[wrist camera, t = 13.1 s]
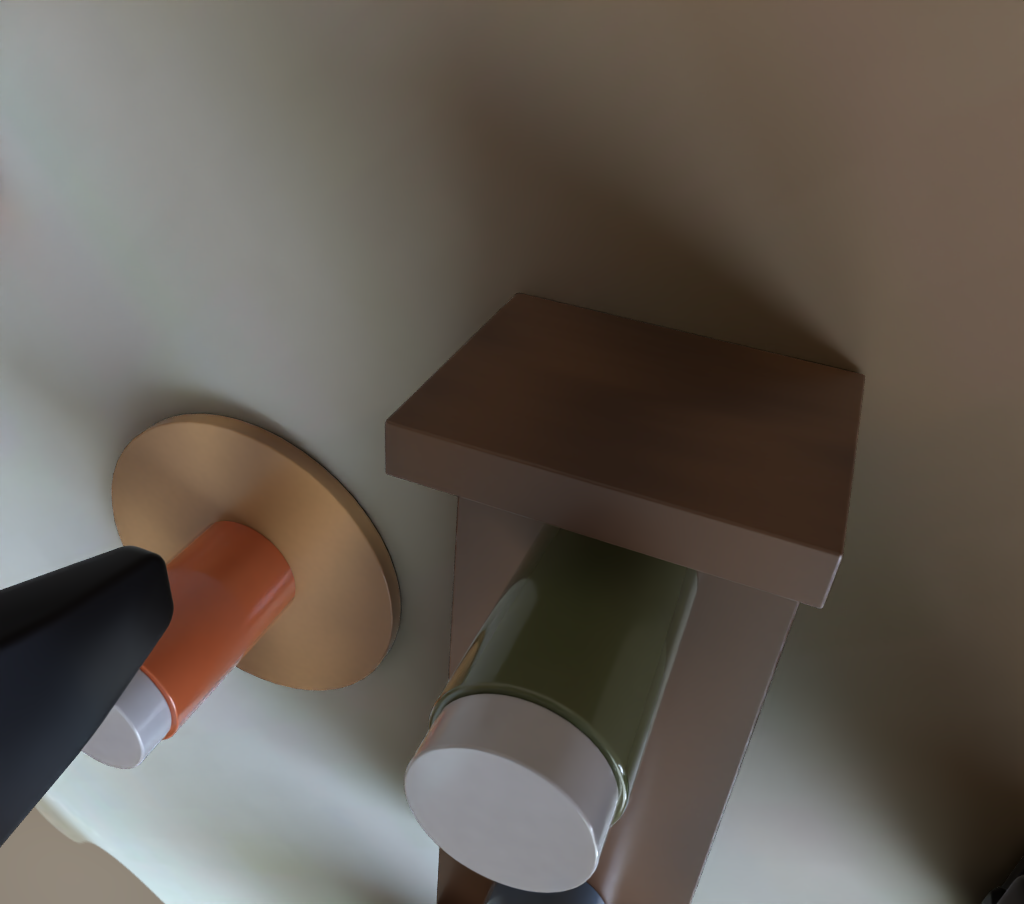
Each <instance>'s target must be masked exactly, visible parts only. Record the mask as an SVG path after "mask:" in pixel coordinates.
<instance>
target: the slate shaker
mask: <svg viewBox="0 0 1024 904" xmlns="http://www.w3.org/2000/svg"><path fill="white" fill-rule="evenodd" d="M483 904H605V902H604V901H603V899H602V897H601V896H600V895H599V894H598V892H597V891H596V890H595V889H594V888H593V887H592V886H591V885H590V884H589V883H588V882H585V883H583V884H582V885H580V886H578V887H576V888H574V889H571V890H568V891H563V892H555V893H539V892H531V891H525V890H521V889H516V888H513V887H509V886H506V885H503V884H500V883H498V882H495V881H493V882H492V884H491V887H490V889H489V891H488V893H487V896H486V898H485V900H484V903H483Z"/></svg>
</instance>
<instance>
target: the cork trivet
mask: <svg viewBox="0 0 1024 904" xmlns="http://www.w3.org/2000/svg"><path fill="white" fill-rule="evenodd" d="M111 489H112V507H113V513H114V519H115V523H116V526H117V530H118V533H119V536H120V539H121V541H122V544H123V546H137V547H140V548H143V549H145V550H148V551H151V552H153V553H156V554H158V555H160V556H161V557H162V558H163V559H164V561H165V562H166V561H168V560H169V559H170V558H171V557H172V556H173V555H174V554H176V553H177V552H178V551H179V550H180V549H181V548H182V547H184V546H185V545H186V544H187V543H188V542H189V541H190V540H192V539H193V538H194V537H195V536H196V535H197V534H198V533H200V532H201V531H202V530H203V529H204V528H205V527H206V526H208V525H209V524H211V523H214V522H217V521H232V522H237V523H240V524H243V525H246V526H248V527H250V528H252V529H254V530H256V531H257V532H259V533H260V534H262V535H263V536H264V537H266V538H267V539H268V540H269V541H270V542H271V543H273V544H274V546H275V547H276V548H277V549H278V550H279V551H280V552H281V554H282V555H283V556H284V558H285V559H286V561H287V562H288V564H289V566H290V568H291V570H292V573H293V576H294V579H295V585H296V591H295V597H294V599H293V602H292V603H291V605H290V606H289V607H288V608H287V609H286V610H285V612H284V613H283V614H282V615H281V616H280V617H279V618H278V619H277V620H276V622H275V623H274V624H273V625H272V626H271V627H270V628H269V629H268V630H267V632H266V633H265V634H264V635H263V636H262V637H261V638H260V639H259V641H258V642H257V643H256V644H255V645H254V646H253V647H252V648H251V649H250V651H249V652H248V653H247V654H246V655H245V656H244V657H243V658H242V659H241V661H240V662H239V663H238V664H237V665H236V667H238V668H240V669H241V670H243V671H245V672H247V673H250V674H252V675H254V676H256V677H259V678H261V679H264V680H267V681H269V682H272V683H275V684H278V685H283V686H287V687H291V688H296V689H303V690H332V689H339V688H343V687H346V686H349V685H352V684H354V683H356V682H358V681H360V680H362V679H364V678H365V677H367V676H368V675H369V674H370V673H372V672H373V671H374V670H375V669H376V668H377V667H378V665H379V664H380V663H381V662H382V660H383V659H384V658H385V656H386V655H387V653H388V652H389V651H390V649H391V647H392V645H393V643H394V641H395V639H396V635H397V632H398V628H399V625H400V614H401V601H400V590H399V585H398V581H397V576H396V572H395V570H394V567H393V564H392V561H391V558H390V555H389V553H388V551H387V549H386V547H385V545H384V543H383V541H382V539H381V537H380V535H379V533H378V532H377V530H376V529H375V527H374V525H373V524H372V522H371V520H370V519H369V517H368V516H367V515H366V513H365V512H364V511H363V509H362V508H361V507H360V505H359V504H358V503H357V501H356V500H355V499H354V498H353V497H352V496H351V494H350V493H349V492H348V491H347V490H346V489H345V488H344V487H343V486H342V485H341V484H340V482H339V481H338V480H337V479H335V478H334V477H333V476H332V475H331V474H330V473H329V472H328V471H327V470H326V469H324V468H323V467H322V466H321V465H320V464H319V463H317V462H316V461H315V460H313V459H312V458H311V457H309V456H308V455H307V454H306V453H304V452H303V451H302V450H300V449H298V448H297V447H295V446H294V445H292V444H290V443H289V442H287V441H286V440H284V439H282V438H281V437H279V436H277V435H275V434H273V433H271V432H269V431H267V430H265V429H263V428H260V427H258V426H255V425H252V424H250V423H247V422H244V421H241V420H238V419H234V418H229V417H225V416H221V415H212V414H203V413H202V414H183V415H179V416H174V417H169V418H167V419H164V420H162V421H160V422H157V423H155V424H154V425H152V426H151V427H149V428H148V429H146V430H145V431H144V432H142V433H141V434H139V435H138V436H136V437H135V438H134V439H133V440H132V441H131V442H130V443H129V444H128V445H127V446H126V447H125V449H124V450H123V452H122V454H121V456H120V457H119V459H118V461H117V464H116V467H115V471H114V474H113V481H112V488H111Z"/></svg>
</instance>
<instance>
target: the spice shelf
mask: <svg viewBox="0 0 1024 904" xmlns="http://www.w3.org/2000/svg"><path fill="white" fill-rule="evenodd" d="M864 384H865V375H863V374H859V373H855V372H851V371H847V370H842V369H838V368H834V367H830V366H825V365H821V364H817V363H813V362H809V361H804V360H800V359H796V358H792V357H787V356H783V355H779V354H775V353H771V352H766V351H762V350H758V349H754V348H750V347H745V346H741V345H737V344H733V343H728V342H724V341H720V340H716V339H712V338H707V337H703V336H699V335H695V334H690V333H686V332H682V331H678V330H674V329H669V328H665V327H661V326H657V325H652V324H648V323H644V322H640V321H636V320H631V319H627V318H623V317H619V316H615V315H610V314H606V313H602V312H598V311H593V310H589V309H585V308H581V307H577V306H572V305H568V304H564V303H560V302H555V301H551V300H547V299H543V298H539V297H534V296H530V295H526V294H522V293H517V294H516V295H515V296H514V297H513V298H512V299H511V300H509V301H508V302H507V303H506V304H505V305H504V306H503V307H502V308H501V309H500V310H499V311H498V312H497V313H496V314H495V315H494V316H493V317H492V318H491V319H490V320H489V321H488V322H487V323H486V324H485V325H484V326H483V327H482V328H481V329H480V330H479V331H478V332H477V333H476V334H474V335H473V336H472V337H471V338H470V339H469V340H468V341H467V342H466V343H465V344H464V345H463V346H462V347H461V348H460V349H459V350H458V351H457V352H456V353H455V354H454V355H453V356H452V357H451V358H450V359H449V360H448V361H447V362H446V363H445V364H444V365H443V366H442V367H440V368H439V369H438V370H437V371H436V372H435V373H434V374H433V375H432V376H431V377H430V378H429V379H428V380H427V381H426V382H425V383H424V384H423V385H422V386H421V387H420V388H419V389H418V390H417V391H416V392H415V393H414V394H413V395H412V396H411V397H410V398H409V399H408V400H407V401H405V402H404V403H403V404H402V405H401V406H400V407H399V408H398V409H397V410H396V411H395V412H394V413H393V414H392V415H391V416H390V417H389V418H388V419H387V420H386V422H385V464H386V474H388V475H391V476H394V477H397V478H401V479H404V480H407V481H410V482H414V483H417V484H420V485H423V486H426V487H430V488H433V489H436V490H439V491H443V492H446V493H449V494H452V495H455V496H458V507H457V526H456V545H455V564H454V583H453V602H452V621H451V640H450V659H449V678H448V681H449V680H450V678H451V676H452V675H453V673H454V671H455V670H456V668H457V666H458V665H459V663H460V661H461V660H462V658H463V657H464V655H465V653H466V652H467V650H468V648H469V647H470V645H471V643H472V642H473V640H474V638H475V637H476V635H477V633H478V632H479V630H480V629H481V627H482V625H483V624H484V622H485V620H486V619H487V617H488V615H489V614H490V612H491V610H492V609H493V607H494V606H495V604H496V602H497V601H498V599H499V597H500V596H501V594H502V592H503V591H504V589H505V587H506V586H507V584H508V582H509V581H510V579H511V578H512V576H513V574H514V573H515V571H516V569H517V568H518V566H519V564H520V563H521V561H522V559H523V558H524V556H525V554H526V553H527V551H528V550H529V548H530V546H531V545H532V543H533V541H534V540H535V538H536V536H537V535H538V533H539V531H540V530H541V528H542V527H543V525H544V523H545V524H549V525H552V526H555V527H558V528H562V529H565V530H568V531H571V532H574V533H578V534H581V535H584V536H587V537H591V538H594V539H597V540H600V541H603V542H607V543H610V544H613V545H616V546H619V547H623V548H626V549H629V550H632V551H636V552H639V553H642V554H645V555H648V556H652V557H655V558H658V559H661V560H665V561H668V562H671V563H674V564H677V565H681V566H684V567H687V568H690V569H694V570H696V573H697V593H696V598H695V601H694V604H693V607H692V610H691V613H690V616H689V619H688V622H687V625H686V628H685V631H684V634H683V638H682V641H681V644H680V647H679V650H678V653H677V656H676V659H675V662H674V665H673V668H672V671H671V674H670V677H669V680H668V683H667V686H666V689H665V692H664V696H663V699H662V702H661V705H660V708H659V711H658V714H657V717H656V720H655V723H654V726H653V729H652V732H651V735H650V738H649V741H648V744H647V747H646V750H645V754H644V757H643V760H642V763H641V766H640V769H639V772H638V775H637V778H636V781H635V784H634V787H633V790H632V793H631V796H630V799H629V802H628V805H627V808H626V810H625V812H624V814H623V815H622V817H621V818H620V819H619V820H618V821H617V822H616V823H615V824H614V825H613V826H612V827H610V830H609V833H608V836H607V839H606V842H605V845H604V848H603V851H602V854H601V857H600V860H599V863H598V866H597V868H596V870H595V872H594V873H593V875H592V876H591V877H590V878H589V879H588V880H587V881H586V882H588V883H589V884H590V885H591V886H592V887H593V888H594V889H595V890H596V891H597V892H598V894H599V895H600V896H601V897H602V899H603V901H604V902H605V904H691V902H692V900H693V897H694V894H695V891H696V889H697V886H698V883H699V880H700V878H701V875H702V872H703V869H704V866H705V864H706V861H707V858H708V855H709V853H710V850H711V847H712V844H713V842H714V839H715V836H716V833H717V830H718V828H719V825H720V822H721V819H722V817H723V814H724V811H725V808H726V806H727V803H728V800H729V797H730V794H731V792H732V789H733V786H734V783H735V781H736V778H737V775H738V772H739V770H740V767H741V764H742V761H743V759H744V756H745V753H746V750H747V747H748V745H749V742H750V739H751V736H752V734H753V731H754V728H755V725H756V723H757V720H758V717H759V714H760V711H761V709H762V706H763V703H764V700H765V698H766V695H767V692H768V689H769V687H770V684H771V681H772V678H773V675H774V673H775V670H776V667H777V664H778V662H779V659H780V656H781V653H782V651H783V648H784V645H785V642H786V639H787V637H788V634H789V631H790V628H791V626H792V623H793V620H794V617H795V615H796V612H797V609H798V606H799V604H800V603H803V604H806V605H809V606H813V607H816V608H822V607H823V606H824V604H825V602H826V599H827V597H828V594H829V591H830V589H831V586H832V583H833V581H834V578H835V576H836V573H837V570H838V568H839V565H840V563H841V560H842V557H843V553H844V545H845V537H846V529H847V521H848V513H849V505H850V497H851V489H852V480H853V472H854V464H855V456H856V448H857V440H858V432H859V424H860V416H861V408H862V400H863V392H864ZM492 882H493V880H490V879H488V878H486V877H484V876H482V875H480V874H478V873H476V872H474V871H473V870H471V869H469V868H467V867H466V866H464V865H463V864H461V863H460V862H458V861H457V860H455V859H454V858H453V857H451V856H450V855H449V854H447V853H446V852H445V851H444V850H443V849H442V848H440V849H439V868H438V887H437V904H483V903H484V900H485V898H486V896H487V893H488V891H489V889H490V887H491V884H492Z"/></svg>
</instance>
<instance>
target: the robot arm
mask: <svg viewBox="0 0 1024 904" xmlns="http://www.w3.org/2000/svg"><path fill="white" fill-rule="evenodd" d="M173 611H174V604H173V598H172V593H171V588H170V583H169V578H168V573H167V568H166V564H165V561H164V559H163V558H162V557H161V556H160V555H158V554H156V553H153V552H151V551H148V550H145V549H143V548H140V547H137V546H123V547H120V548H117V549H114V550H111V551H108V552H106V553H103V554H100V555H97V556H95V557H92V558H89V559H86V560H83V561H81V562H78V563H75V564H72V565H69V566H67V567H64V568H61V569H58V570H55V571H53V572H50V573H47V574H44V575H41V576H39V577H36V578H33V579H30V580H27V581H25V582H22V583H19V584H16V585H13V586H11V587H8V588H5V589H2V590H0V847H1V846H2V845H3V843H4V842H5V841H6V840H7V839H8V837H9V836H10V835H11V834H12V833H13V831H14V830H15V829H16V828H17V827H18V826H19V824H20V823H21V822H22V821H23V820H24V818H25V817H26V816H27V815H28V813H29V812H30V811H31V810H32V809H33V808H34V806H35V805H36V804H37V803H38V802H39V801H40V799H41V798H42V797H43V796H44V795H45V793H46V792H47V791H48V790H49V789H50V787H51V786H52V785H53V784H54V783H55V781H56V780H57V779H58V778H59V777H60V775H61V774H62V773H63V772H64V771H65V769H66V768H67V767H68V766H69V765H70V764H71V762H72V761H73V760H74V759H75V758H76V756H77V755H78V754H79V753H80V751H81V750H82V749H83V748H84V746H85V745H86V744H87V743H88V741H89V740H90V739H91V738H92V736H93V735H94V733H95V732H96V731H97V729H98V728H99V727H100V725H101V724H102V723H103V721H104V720H105V718H106V717H107V715H108V714H109V713H110V711H111V710H112V708H113V707H114V705H115V704H116V702H117V701H118V699H119V698H120V696H121V695H122V694H123V692H124V691H125V689H126V688H127V686H128V685H129V683H130V682H131V680H132V679H133V678H134V676H135V675H136V673H137V672H138V670H139V669H140V667H141V666H142V664H143V663H144V662H145V660H146V659H147V657H148V656H149V654H150V653H151V651H152V650H153V648H154V647H155V645H156V644H157V643H158V641H159V640H160V638H161V637H162V635H163V634H164V632H165V631H166V629H167V628H168V626H169V624H170V622H171V619H172V616H173ZM981 904H1024V856H1023V857H1022V858H1021V860H1020V861H1019V863H1018V864H1017V865H1016V867H1015V868H1014V870H1013V871H1012V872H1011V874H1010V875H1009V876H1008V878H1007V879H1006V881H1005V882H1004V883H1003V885H1002V886H1001V887H997V888H995V889H993V890H991V891H990V892H989V893H988V894H987V896H986V897H985V899H984V900H983V901H982V903H981Z"/></svg>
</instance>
